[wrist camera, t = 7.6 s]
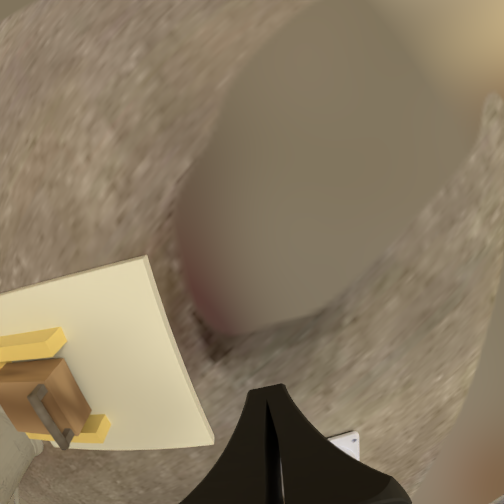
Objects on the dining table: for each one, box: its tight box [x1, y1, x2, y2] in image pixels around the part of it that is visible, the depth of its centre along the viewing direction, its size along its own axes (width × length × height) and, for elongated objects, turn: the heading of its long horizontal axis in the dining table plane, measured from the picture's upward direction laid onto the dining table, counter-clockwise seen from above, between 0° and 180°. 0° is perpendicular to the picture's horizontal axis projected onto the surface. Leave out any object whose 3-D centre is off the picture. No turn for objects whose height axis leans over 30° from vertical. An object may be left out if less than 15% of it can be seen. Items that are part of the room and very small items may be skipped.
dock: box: [0, 255, 214, 450], centre depth 20 cm, size 16×17×3 cm
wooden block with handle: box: [0, 358, 92, 450], centre depth 18 cm, size 5×7×6 cm
